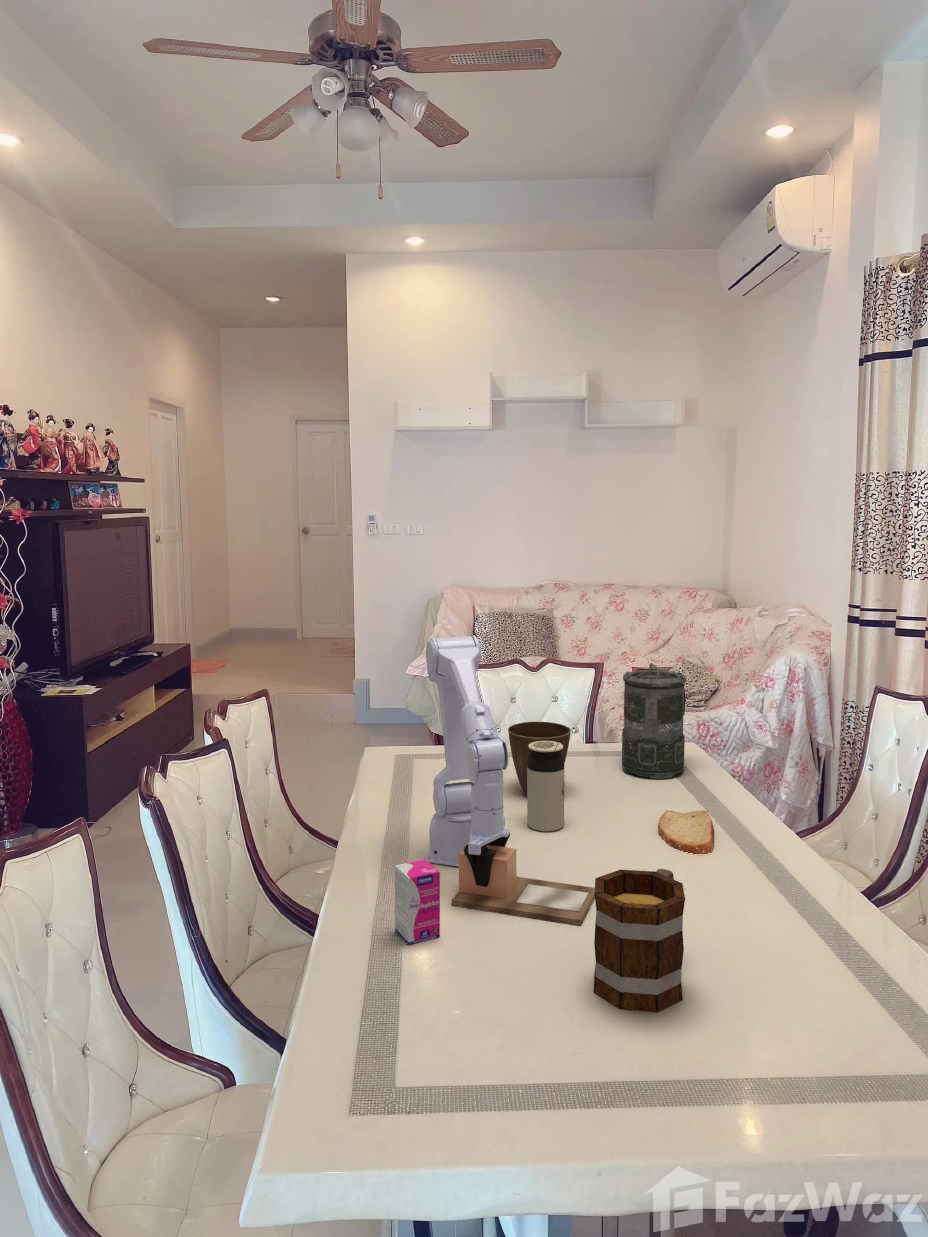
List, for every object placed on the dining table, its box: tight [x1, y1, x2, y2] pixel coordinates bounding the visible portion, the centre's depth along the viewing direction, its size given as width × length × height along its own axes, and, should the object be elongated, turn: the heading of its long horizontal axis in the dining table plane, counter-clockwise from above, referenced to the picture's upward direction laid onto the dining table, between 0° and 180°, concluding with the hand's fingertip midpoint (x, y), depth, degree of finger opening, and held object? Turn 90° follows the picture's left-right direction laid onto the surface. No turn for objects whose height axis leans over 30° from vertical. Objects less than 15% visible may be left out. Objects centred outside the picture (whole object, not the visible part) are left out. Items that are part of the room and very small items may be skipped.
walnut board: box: [451, 876, 595, 927], centre depth 157 cm, size 23×13×1 cm, turn 70°
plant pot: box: [507, 721, 572, 797], centre depth 213 cm, size 15×15×16 cm
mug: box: [593, 868, 686, 1014], centre depth 130 cm, size 20×14×15 cm
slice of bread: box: [657, 809, 715, 855], centre depth 187 cm, size 18×18×4 cm
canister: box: [621, 662, 687, 780], centre depth 229 cm, size 16×16×28 cm
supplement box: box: [394, 859, 441, 945], centre depth 144 cm, size 6×6×12 cm
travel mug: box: [526, 741, 565, 832], centre depth 192 cm, size 8×8×18 cm
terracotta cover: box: [458, 844, 517, 899], centre depth 159 cm, size 9×6×7 cm, turn 70°
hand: (487, 878), depth 159 cm, fingers closed on terracotta cover, 6 cm apart
